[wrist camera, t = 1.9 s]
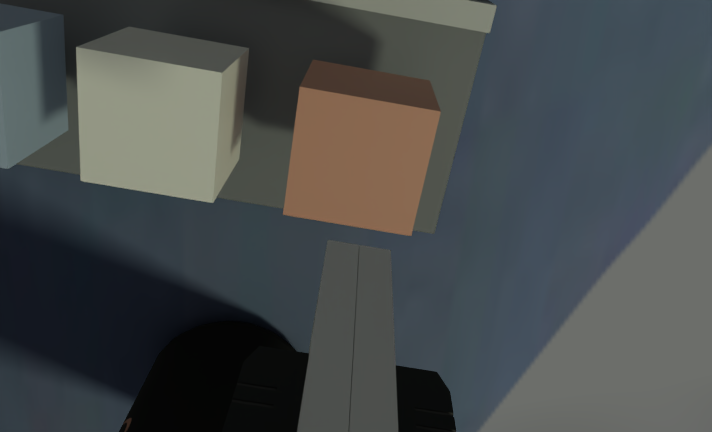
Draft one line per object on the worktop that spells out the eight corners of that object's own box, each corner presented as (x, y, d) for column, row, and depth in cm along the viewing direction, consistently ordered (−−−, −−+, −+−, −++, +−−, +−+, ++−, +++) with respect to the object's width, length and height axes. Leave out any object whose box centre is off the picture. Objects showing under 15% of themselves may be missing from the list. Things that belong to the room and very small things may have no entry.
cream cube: (128, 140, 28) (80, 181, 23) (129, 26, 25) (76, 46, 21) (239, 159, 28) (212, 203, 23) (249, 47, 26) (222, 73, 21)
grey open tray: (-30, 140, 33) (-110, 181, 27) (-59, -103, 28) (-165, -111, 22) (431, 217, 34) (441, 272, 29) (486, -1, 29) (511, 15, 23)
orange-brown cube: (297, 169, 28) (282, 214, 24) (312, 59, 26) (299, 86, 21) (405, 187, 28) (411, 236, 24) (429, 80, 26) (440, 111, 22)
